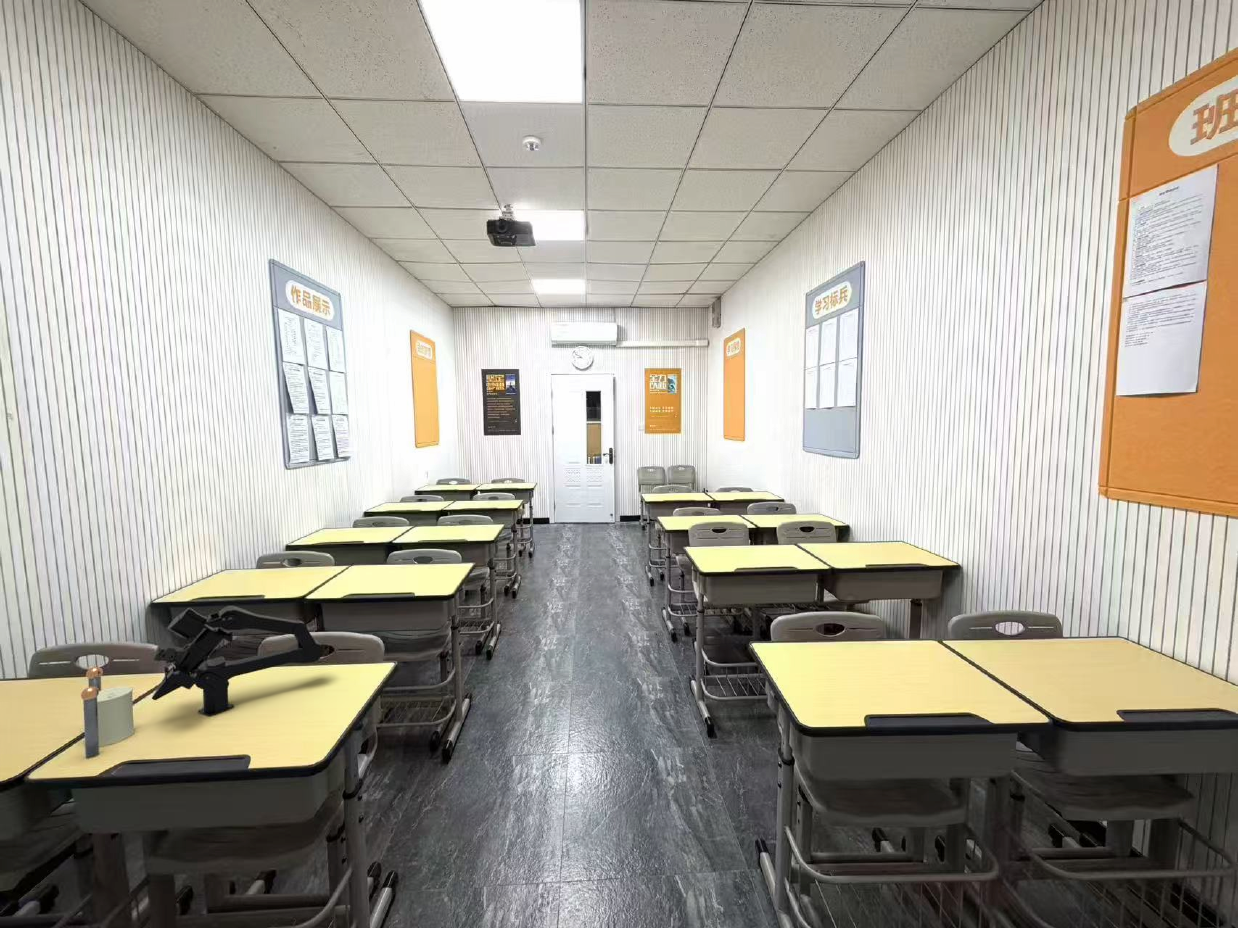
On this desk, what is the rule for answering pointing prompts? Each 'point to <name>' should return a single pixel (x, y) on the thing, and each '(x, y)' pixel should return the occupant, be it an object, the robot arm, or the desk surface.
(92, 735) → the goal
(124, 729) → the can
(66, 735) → the desk surface
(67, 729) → the desk surface
